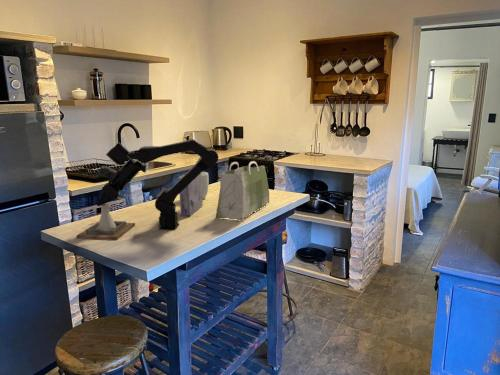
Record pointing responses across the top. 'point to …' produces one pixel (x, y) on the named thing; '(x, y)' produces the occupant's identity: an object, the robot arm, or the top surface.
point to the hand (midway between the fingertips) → (100, 202)
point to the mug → (204, 184)
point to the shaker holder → (106, 231)
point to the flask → (106, 219)
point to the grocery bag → (242, 191)
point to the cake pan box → (191, 197)
